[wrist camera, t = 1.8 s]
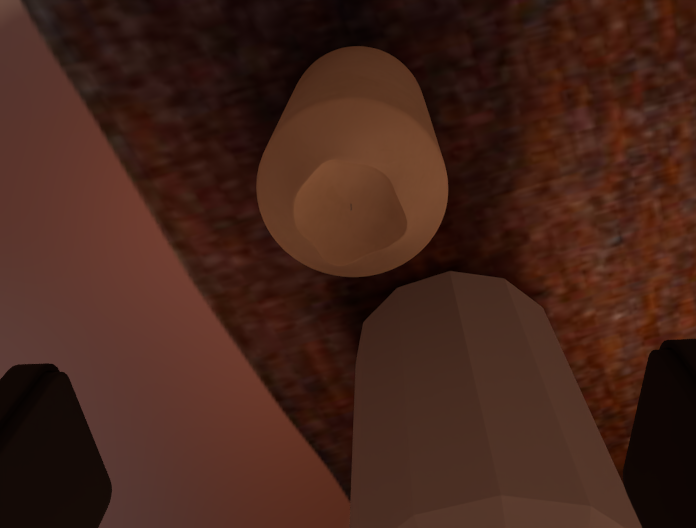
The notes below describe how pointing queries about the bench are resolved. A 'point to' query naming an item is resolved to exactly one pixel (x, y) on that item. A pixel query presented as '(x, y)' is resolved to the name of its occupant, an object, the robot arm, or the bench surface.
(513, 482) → the jar
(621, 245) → the bench surface
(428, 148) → the candle
